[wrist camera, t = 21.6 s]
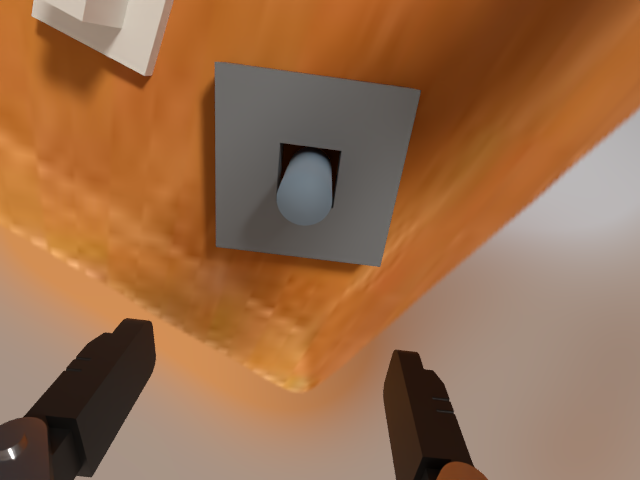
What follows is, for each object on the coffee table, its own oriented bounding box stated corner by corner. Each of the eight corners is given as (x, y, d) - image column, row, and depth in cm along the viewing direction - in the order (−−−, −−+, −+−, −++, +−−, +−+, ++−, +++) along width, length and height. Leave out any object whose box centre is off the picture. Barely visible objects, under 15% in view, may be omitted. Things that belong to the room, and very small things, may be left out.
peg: (291, 143, 32) (278, 169, 24) (334, 149, 33) (335, 176, 25) (287, 185, 34) (274, 222, 26) (328, 190, 34) (328, 228, 26)
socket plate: (225, 62, 30) (214, 61, 27) (413, 88, 30) (421, 90, 27) (224, 233, 37) (215, 246, 34) (376, 252, 37) (380, 266, 34)
